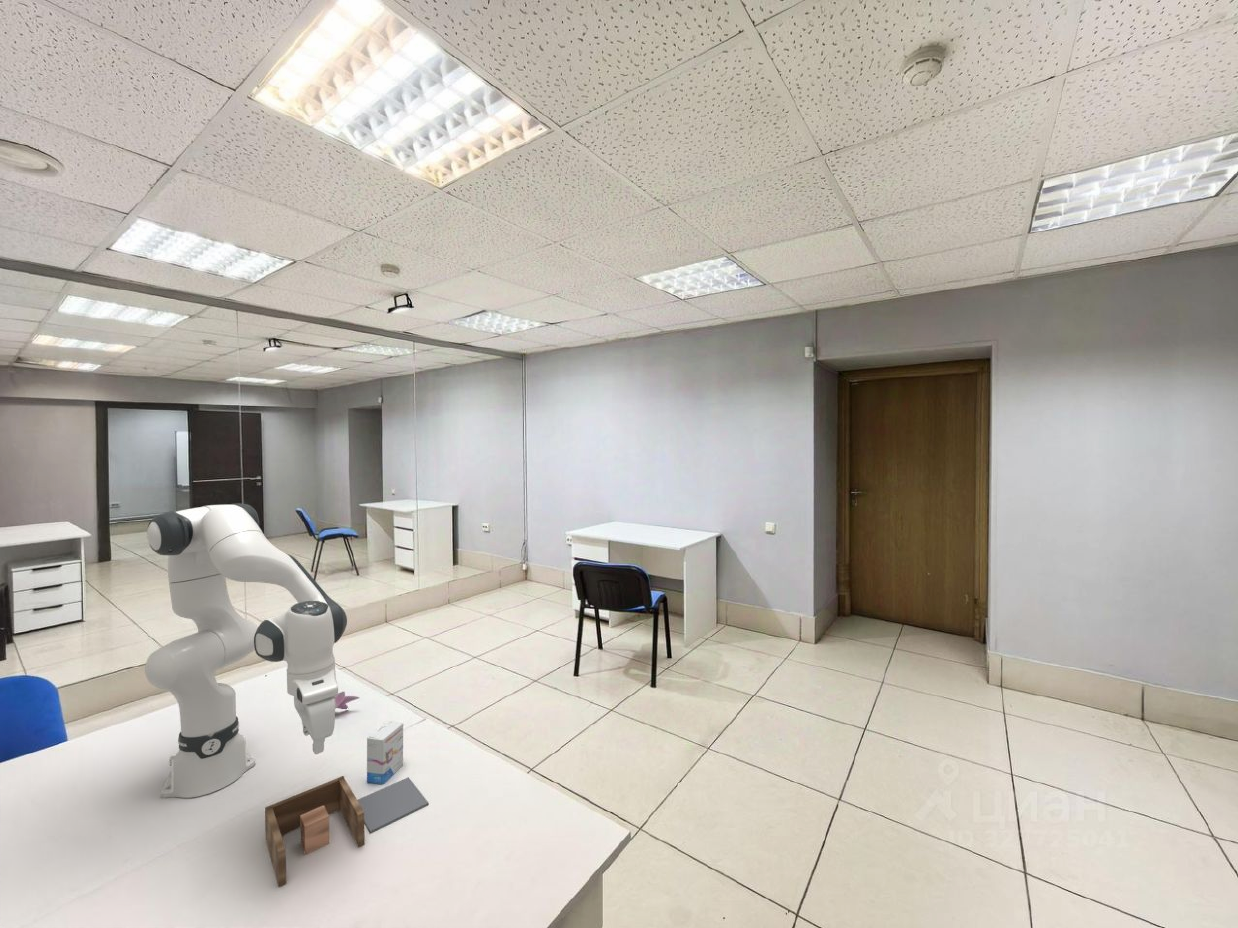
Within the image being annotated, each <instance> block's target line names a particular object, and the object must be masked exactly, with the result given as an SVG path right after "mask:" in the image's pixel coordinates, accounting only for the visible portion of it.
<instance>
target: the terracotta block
mask: <svg viewBox="0 0 1238 928" xmlns="http://www.w3.org/2000/svg"><path fill="white" fill-rule="evenodd" d="M299 828H300V844H301V846H302V850H303V852H304V854H305V855H308V854H310V853H312V852H314V851H316V850H319V849H320V848H323V847H325V846H326V845H329V844H330V842H331V841H330V814H329V815H328V813H327V811H326V809H325V806H324V805H323V806H321V807H319V808H316V809H314V810H312V811H309V812H307V813H305V814H302V815H300V827H299Z"/></svg>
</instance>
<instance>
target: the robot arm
mask: <svg viewBox="0 0 1238 928" xmlns="http://www.w3.org/2000/svg"><path fill="white" fill-rule="evenodd" d="M146 538H147V542H148V544H149V547H150V548H151V550H152V551H153V552H155V553H156V554H158V555H160V556H168V558H167V560H168V561H167V577H168V585H169V593H170V600H171V609H172V611H173V613H174V614H175V615H176V616H178V617H180V618H184V619H188V620H189V619H190V620H192V621H193V622H194V623H195V625H196V627H197V632H196V633H192V634H190V635H187V636H184V637H181V638H178V639H175V640H172V641H171V642H169V643H167V644H165V645H163V646H162V647H159V648H158V649H156V650H154V651H153V652H152V653H150V655H149V656H148V658H147V659H146V662H145V665H144V675H145V678H146V679H147V681H148V683H150V684H151V685H153V686H154V687H155V688H158V689H161V690H165V691H167V692H169V693H170V694H172V695H173V697H174V699H176V702H177V705H178V708H179V710H178V711H179V720H180V731H179V734H178V739H177V743H178V751H177V752H176V754H175V755H172V756H171V757H170V758H169V767H171V771H170V773H169V775H168V778H167V780H166V781H165V784H164V786H163V788H162V790H161V794H160V797H161V798H171V797H177V798H184V799H188V798H189V799H190V798H195V797H201V796H205V795H209V794H211V793H214V792H216V791H219V790H221V789H223V788H226V787H227V786H229V785H230V784H232V783H233V782H235V781H237V780H238V779H240V777H241V776H243V774H245V772H246V771H248V770H250V769H251V768H252V767H254V766H255V765H256V759H255V758H254V757H253V756H252V755H250V754H249V753H248V752H247V751H248V750H247V739H246V737H245V736H244V735H243V734H240V733H239V730H240V728H239V727H240V722H239V717H238V716H237V703H236V702H237V700H236V691H235V689H234V688H233V687H232V686H230V685H229V684H228V683H221V682H217V678H216V673H217V671H219V670H221V669H224V668H226V667H227V666H231V665H232V664H234V663H237V662H240V661H241V660H243V659H244V658H246V657H247V656H249V655H250V654H252V653H253V652H255V654H256V655H257V656H258V657H259V658H261V659H262V660H265V661H267V662H272V663H278V662H282V661H283V662H286V663H287V667H286V693H287V695H290V696H293V704H294V709H295V710H296V712H297V714H298V715H299V718H300V720H301V724H302V733H303V735H304V736H306V737H307V736H309V735H310V738H311V740H312V751H313V753H314V755H319V754H321V753H323V752H324V750H325V741H326V739H327V738H330V737H332V735H333V733H334V730H335V724H336V723H335V722H336V721H335V720H336V709H335V697H334V696H336V695H338V694H339V685H338V682H337V677H336V676H337V675H336V659H335V656H334V652H333V648H334V644H336V643H337V642H338V641H340V639H342V637H343V634H345V633H344V632H345V630H346V628H347V626H348V618H347V617H348V616H347V614H346V612H345V610H344V609H343V608H342V606H341V605H339V604H338V603H337V602H336V601H335V600H333V599H332V598H331V597H330V596H329V595H328V594H327V592H325V590H323V588H322V587H321V585H320V584H319V583H318V582H317V581H316V580H315V579H314V578H313V576H312V575H311V574H310V573H309V572H308V570H307V569H306V568H305V567H304V566H303V565H302V563H301V562H300V561H299V560H298V559H297V558H296V557H294V556H293V555H291V554H288V553H286V552H284V551H282V550H281V549H279V548H277V547H276V546H275V545H274V544H273V543H272V542H270V541H269V540H268V539H267V537H266V536H265V534H264V532H263V531H262V529H261V527H260V519H259V514H258V511H256V510H255V508H254V507H253V506H252V505H250V504H246V503H240V502H239V503H231V504H210V505H203V506H200V507H192V508H186V509H181V510H177V511H173V510H172V511H171V510H170V511H166V512H163V513H160V514H156V515H155V516H154V517H153V518H152V519H151V520H150V521H149V522H148V524H147V531H146ZM226 578H227V579H229V580H232V581H235V582H238V583H239V582H240V583H260V584H261V583H262V584H271V585H276V586H279V587H281V588H282V587H283V588H284V589H286V590H287V591H288V592H289V593H290V595H292V597H293V598H294V600H295V601H296V604H295V603H294V605H291V606H290V607H289V608H288V609H287V611H285V612H283V613H281V614H278V615H274V616H272V617H269V618H266V619H264V620H263V621H262V622H260V623H259V625H258V626H257V624H255V622H253V621H252V620H249V619H247V618H244V617H243V616H242V615H240V614H239V613H238V612H237V610H236V609H235V607H234V606H233V604H232V602H231V599H230V596H229V591H228V586H227V579H226Z"/></svg>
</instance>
